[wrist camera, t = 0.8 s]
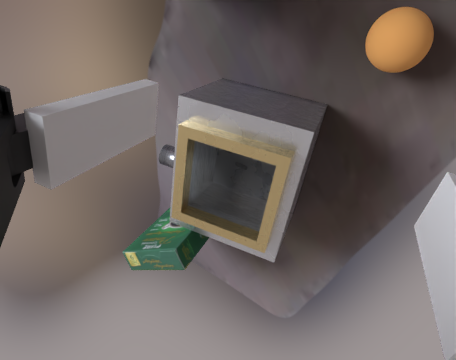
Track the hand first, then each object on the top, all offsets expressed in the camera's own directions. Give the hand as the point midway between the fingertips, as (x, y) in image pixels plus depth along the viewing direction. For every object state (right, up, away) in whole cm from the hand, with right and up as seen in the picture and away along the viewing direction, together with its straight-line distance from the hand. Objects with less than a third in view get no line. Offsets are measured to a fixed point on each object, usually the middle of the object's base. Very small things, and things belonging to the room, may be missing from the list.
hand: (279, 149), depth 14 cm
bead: (+13, +11, +14) cm, 22 cm away
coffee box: (-6, -4, +30) cm, 31 cm away
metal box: (0, +3, +24) cm, 24 cm away
